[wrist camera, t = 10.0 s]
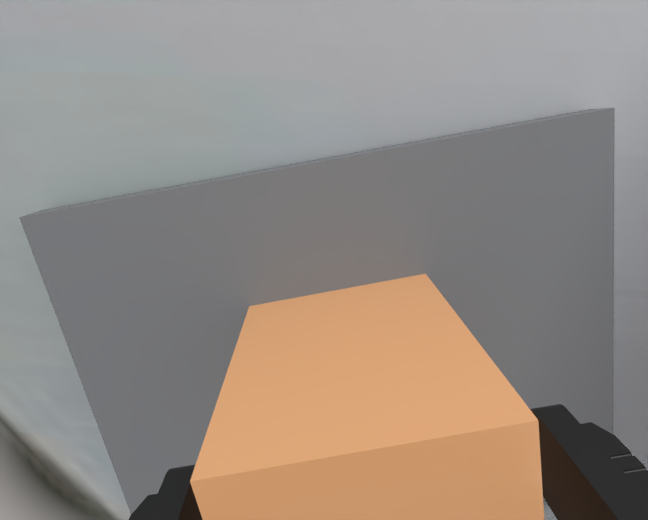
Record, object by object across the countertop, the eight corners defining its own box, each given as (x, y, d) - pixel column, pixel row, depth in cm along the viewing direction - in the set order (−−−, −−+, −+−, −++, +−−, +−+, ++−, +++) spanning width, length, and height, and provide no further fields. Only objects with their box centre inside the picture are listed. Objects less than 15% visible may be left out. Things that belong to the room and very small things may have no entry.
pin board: (590, 109, 15) (841, 95, 8) (593, 467, 19) (761, 670, 12) (41, 210, 15) (-188, 283, 8) (160, 538, 19) (74, 775, 12)
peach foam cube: (425, 273, 15) (538, 420, 7) (445, 424, 16) (553, 666, 9) (249, 306, 15) (189, 481, 8) (286, 452, 17) (266, 712, 9)
